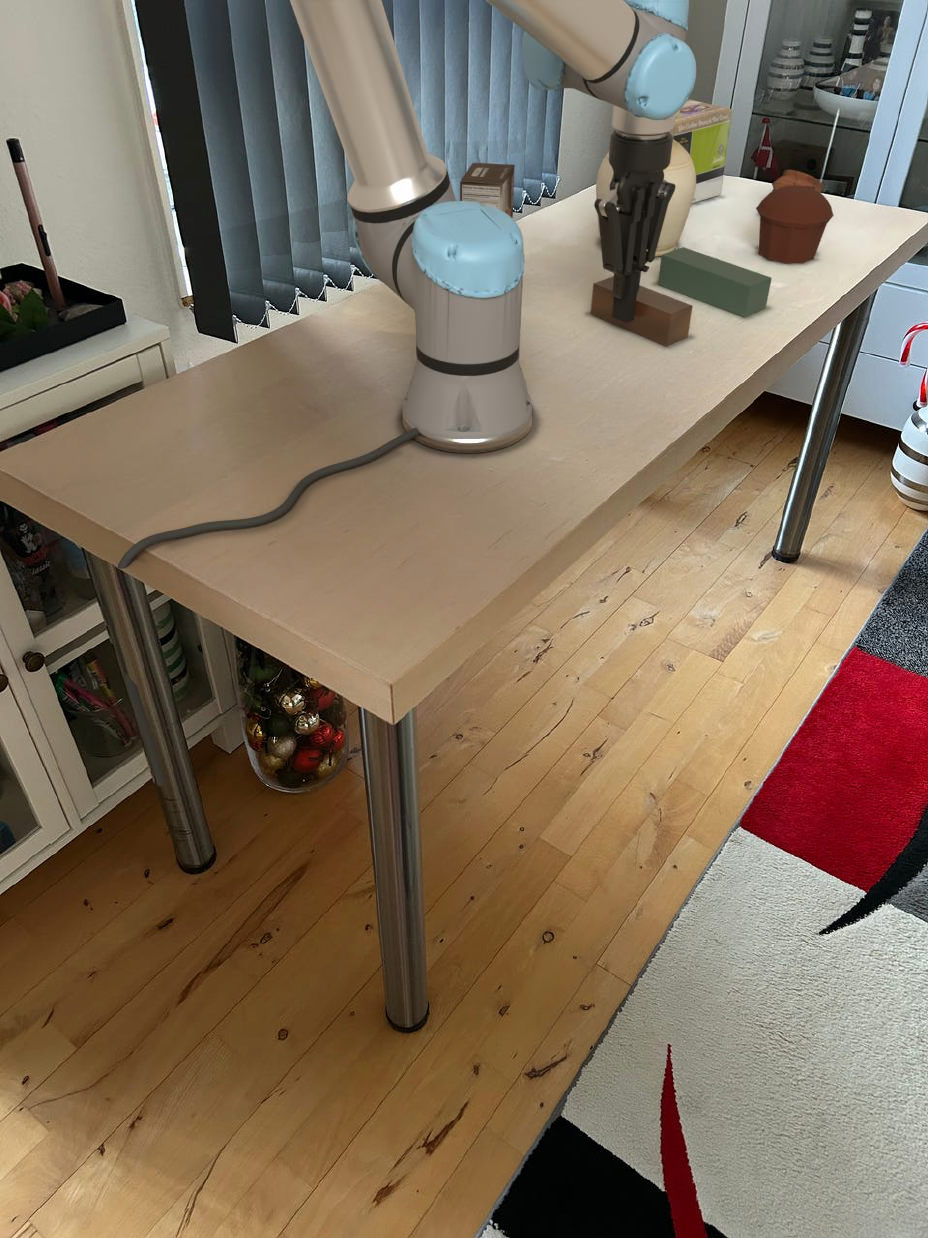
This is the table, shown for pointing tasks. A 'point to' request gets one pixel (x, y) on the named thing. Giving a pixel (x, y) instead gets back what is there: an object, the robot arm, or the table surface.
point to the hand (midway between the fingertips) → (622, 318)
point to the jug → (680, 202)
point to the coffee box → (489, 186)
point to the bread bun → (797, 180)
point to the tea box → (704, 143)
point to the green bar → (714, 281)
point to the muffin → (792, 223)
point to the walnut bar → (646, 313)
